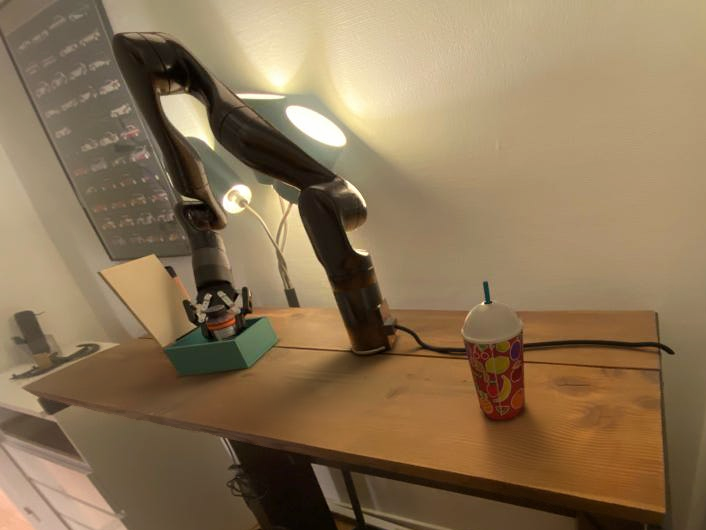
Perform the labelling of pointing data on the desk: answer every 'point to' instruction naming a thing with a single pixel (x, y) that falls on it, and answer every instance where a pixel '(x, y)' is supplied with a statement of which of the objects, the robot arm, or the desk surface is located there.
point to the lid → (150, 298)
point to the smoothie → (495, 356)
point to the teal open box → (222, 349)
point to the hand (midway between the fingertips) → (225, 334)
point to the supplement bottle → (221, 323)
